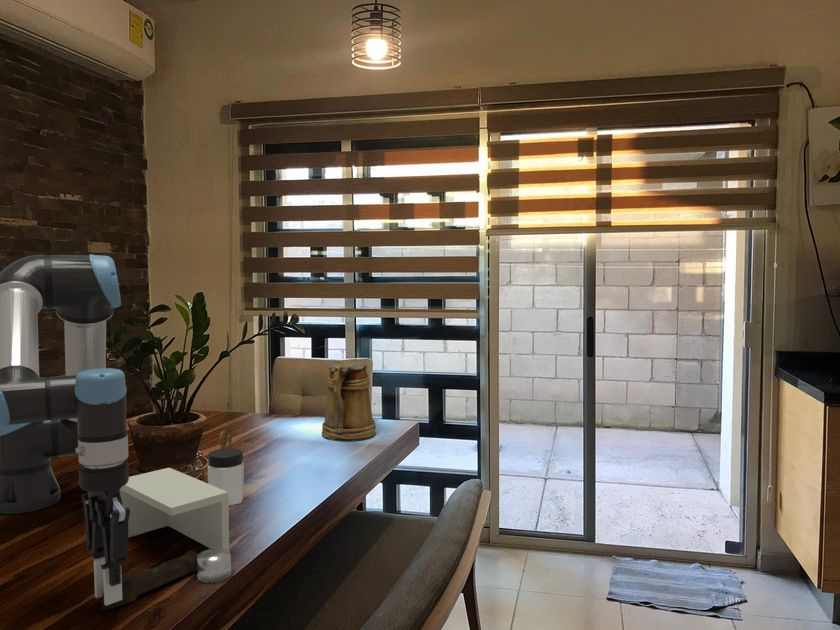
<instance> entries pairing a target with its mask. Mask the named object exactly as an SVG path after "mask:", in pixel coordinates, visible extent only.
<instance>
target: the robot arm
mask: <svg viewBox="0 0 840 630" xmlns="http://www.w3.org/2000/svg"><path fill="white" fill-rule="evenodd" d="M119 285H120V284H119V280H118V274H117V268H116V265H115V261H114V259H113V258H112V257H111V256H108V255H99V254H97V255H96V254H93V253H92V254H91V253H90V254H33V255H29V256H24V257H22V258H19V259H17V260H15V261H13V262H12V263H10V264H9V265H7V266H6V267H4V268H3V269H2V270H1V271H0V515H17V514H24V513H31V512H35V511H39V510H43V509H46V508H49V507H51V506H53V505H55V504H57V503H58V502H60V500H61V499H62V496H61V487H60V485H59V483H58V481H57V478H56V475H55V473H54V471H53V468H52V458H60V457H69V456H78V463H79V464H80V466H79V467H78V480H79V481H78V485H79V488H80V489H81V490H82V491H85V492H86V493H82V494H81V501H82V505H83V513H84V524H85V525H84V527H85V538H86V549H87V551H88V553H89V552H90V553H91V554H90V555H91V557H92V559H93V577H94V581H93V582H94V597H95V598H96V599H99V598H102V595H103V592H104V604H105V605H106V606H107V605H109V604H112V603H115V602H118V601H120V600H122V577H123V576H122V565H125V564H127V563H129V537H128V520H129V516H130V509H129V507H126V508H123V507H122V498H121V495H120V491H119V490H120V488H121V487H122V486H124V485H126V484H127V483H128V481H129V477H130V476H129V475H130V474H129V473H130V472H129V470H130V469H129V462H128V461H127V459H128V458H129V437H128V430H127V392H128V390H127V388H128V387H127V384H126V378H125V377H126V376H125V372H124V371H123V370H121V369H119V368H113V367H109V368H108V367H107V362H106V361H107V321H108V320H109V319H110V318H112V317H113V315H114V310H115V309H117V308H119V307H121V306H122V301H121V299H122V298H121V291H120V286H119ZM44 309H45V310H54V309H55V312H56V316H58V318H59V319H60V320H61V321H64V322H63V323H64V355H65V356H64V359H65V360H64V361H65V362H64V363H65V364H64V365H65V375H61V376H60V375H59V376H47V377H46V376H45V377H40V360H39V359H40V357H39V356H40V354H39V352H40V351H39V323H38V320H39V319H38V316H39V315H38V314H39V313H40V312H41V310H44Z"/></svg>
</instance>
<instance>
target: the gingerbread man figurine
mask: <svg viewBox="0 0 840 630" xmlns="http://www.w3.org/2000/svg"><path fill="white" fill-rule="evenodd" d="M218 440H219V445H218V446H217V448H216V450H218V449H226V448H230V447H231V445H232V440H233V437H232V435H231V434H228V432H227V430H226V431H225V430H223V431H221V432H220V434H219V439H218Z"/></svg>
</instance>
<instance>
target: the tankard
mask: <svg viewBox="0 0 840 630" xmlns="http://www.w3.org/2000/svg"><path fill="white" fill-rule="evenodd" d="M367 367H368V365H367V363H366V362H365V361H362V360H358V359H356V358H353V359H343V360H339V361H336V362H334V363H331V364H330V365H329V366H328V370H329V375H328V376H327V380H326V386H327V397H326V406H325V413H324V414H325V415H324V422H322V426H321V427H322V431H321V436H322V437H324V438H326V439H327V440H331V439H333V440H332V441H336V440H338V441H339V440H342V441H341V442H352V441H351V440H357V441H362V439H363V440H365V439H366V440H367V439H369V438H371V437H374V436H375V434H376V429H377V426H376V422H375V421H374V419H373V413H372V405H371V404H372V403H371V398H370V397H371V396H370V388H369V387H370V385H371V383H370V376H369V375H368V372H367Z"/></svg>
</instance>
